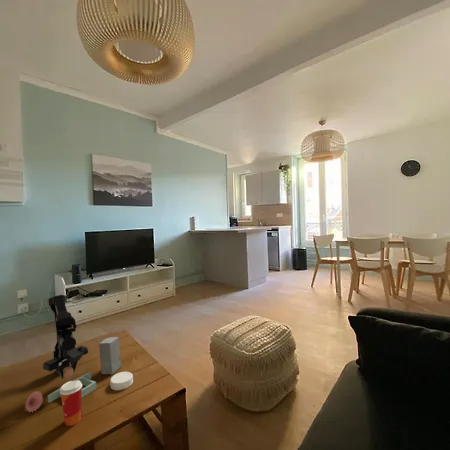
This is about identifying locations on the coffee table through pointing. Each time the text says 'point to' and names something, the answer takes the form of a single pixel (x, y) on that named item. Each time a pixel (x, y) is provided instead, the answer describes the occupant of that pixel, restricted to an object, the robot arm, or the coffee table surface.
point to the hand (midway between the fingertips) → (67, 375)
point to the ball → (67, 372)
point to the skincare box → (110, 355)
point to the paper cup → (71, 402)
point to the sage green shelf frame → (86, 382)
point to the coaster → (121, 380)
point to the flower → (34, 401)
